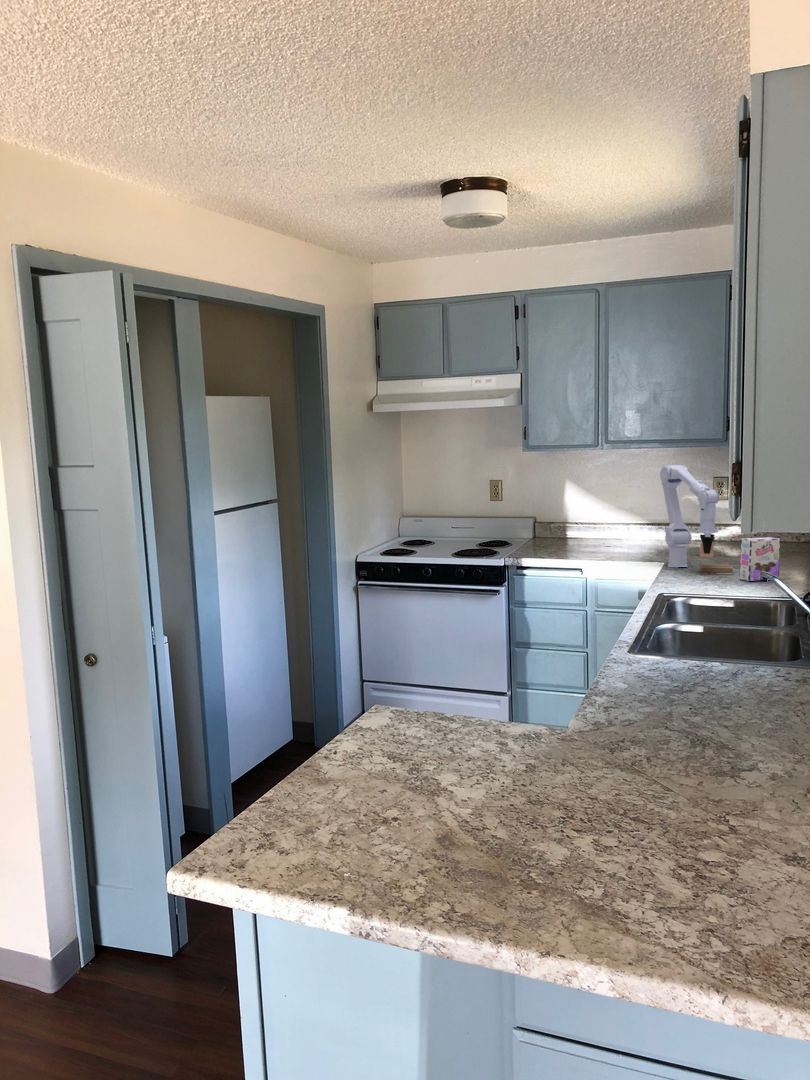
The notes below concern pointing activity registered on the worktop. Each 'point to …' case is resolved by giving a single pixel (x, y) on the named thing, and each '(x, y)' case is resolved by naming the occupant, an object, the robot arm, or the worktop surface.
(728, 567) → the walnut block
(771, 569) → the candy box
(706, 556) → the terracotta cube
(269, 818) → the worktop surface
